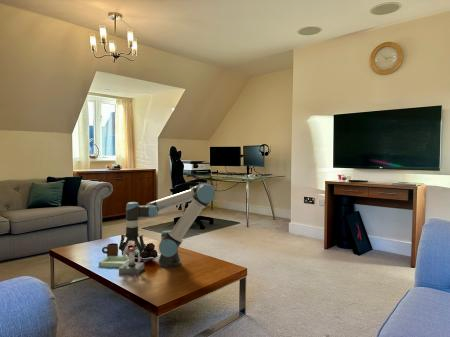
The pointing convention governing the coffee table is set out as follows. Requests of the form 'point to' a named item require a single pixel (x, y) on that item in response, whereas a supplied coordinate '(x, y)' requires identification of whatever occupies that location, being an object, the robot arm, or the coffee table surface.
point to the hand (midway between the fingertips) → (131, 260)
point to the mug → (111, 249)
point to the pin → (131, 256)
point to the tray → (113, 261)
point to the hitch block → (131, 269)
